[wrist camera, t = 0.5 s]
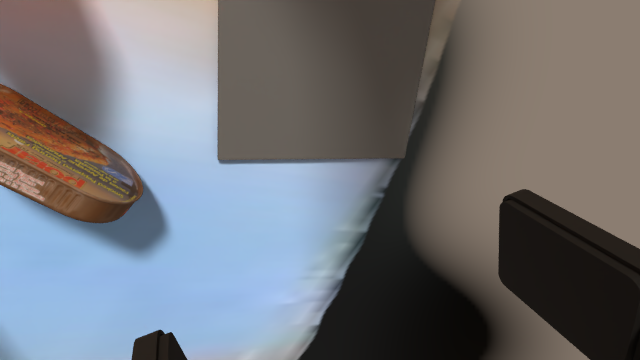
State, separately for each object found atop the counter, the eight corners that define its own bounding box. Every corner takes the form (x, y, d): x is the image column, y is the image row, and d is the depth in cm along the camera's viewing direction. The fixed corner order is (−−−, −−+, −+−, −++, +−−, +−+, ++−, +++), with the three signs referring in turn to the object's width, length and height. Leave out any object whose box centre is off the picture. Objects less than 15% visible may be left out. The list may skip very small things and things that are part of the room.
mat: (218, -61, 30) (219, -63, 30) (436, -24, 37) (440, -24, 36) (217, 157, 37) (218, 159, 36) (401, 156, 43) (404, 158, 43)
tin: (148, 171, 35) (140, 213, 28) (127, 197, 36) (114, 245, 28) (-39, 57, 28) (-116, 74, 21) (-63, 90, 28) (-148, 118, 21)
